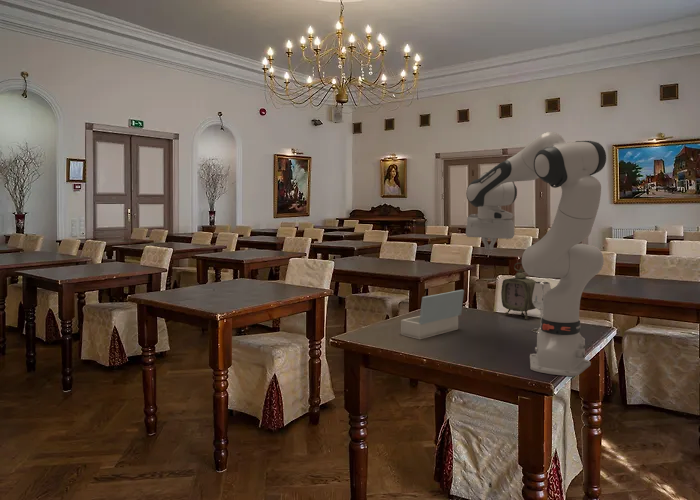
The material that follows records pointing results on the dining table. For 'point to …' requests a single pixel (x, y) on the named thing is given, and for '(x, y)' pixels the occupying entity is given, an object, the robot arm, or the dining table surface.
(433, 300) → the panel
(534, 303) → the wineglass
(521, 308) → the tabletop clock
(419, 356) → the dining table surface
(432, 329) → the white open box
